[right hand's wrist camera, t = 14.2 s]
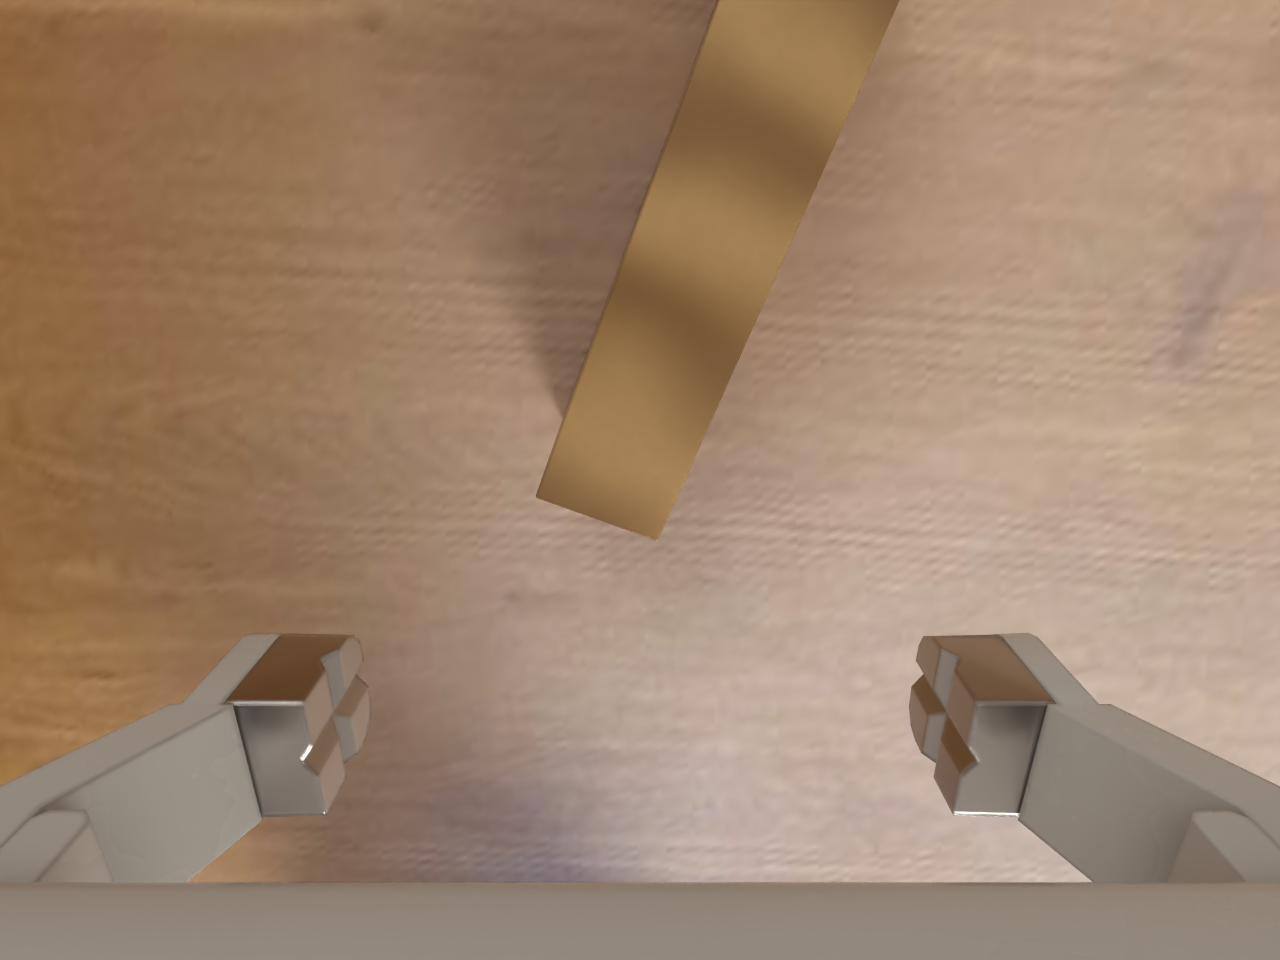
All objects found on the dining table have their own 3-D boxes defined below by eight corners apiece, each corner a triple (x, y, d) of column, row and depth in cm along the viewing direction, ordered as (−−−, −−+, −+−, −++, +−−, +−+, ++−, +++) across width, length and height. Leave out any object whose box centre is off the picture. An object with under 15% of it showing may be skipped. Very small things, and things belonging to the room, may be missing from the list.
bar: (653, 455, 33) (657, 541, 25) (561, 421, 33) (534, 498, 24) (881, -83, 26) (998, -220, 17) (768, -140, 25) (833, -310, 17)
